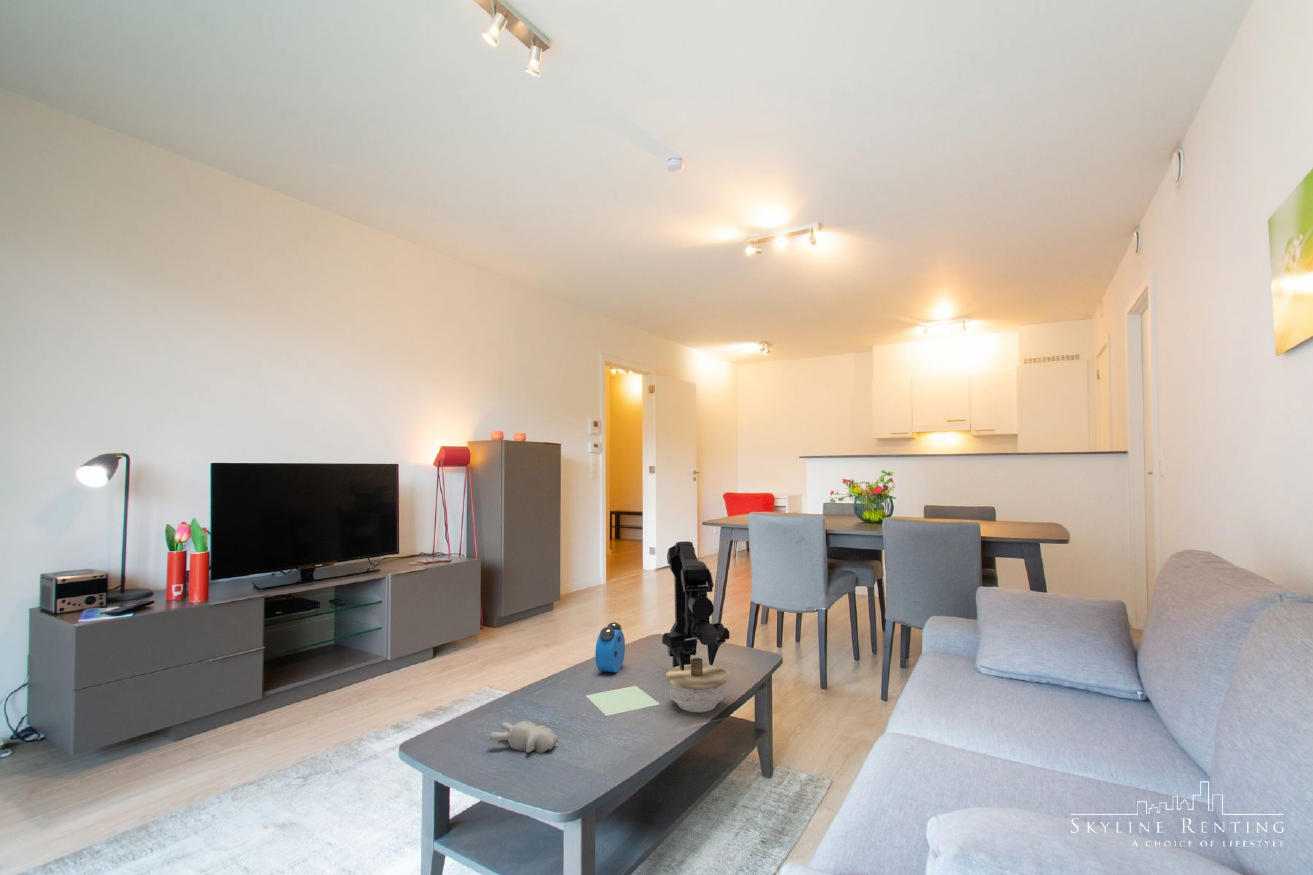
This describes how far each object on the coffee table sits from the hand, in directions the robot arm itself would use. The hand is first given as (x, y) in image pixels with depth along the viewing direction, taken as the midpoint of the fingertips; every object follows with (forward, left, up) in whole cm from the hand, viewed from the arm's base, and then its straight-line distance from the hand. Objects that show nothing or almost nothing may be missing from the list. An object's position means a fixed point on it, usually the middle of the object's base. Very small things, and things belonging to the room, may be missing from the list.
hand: (696, 667), depth 165 cm
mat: (-13, -17, -10) cm, 24 cm away
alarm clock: (-38, -10, -11) cm, 41 cm away
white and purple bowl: (0, 0, -11) cm, 11 cm away
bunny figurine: (+1, -48, -11) cm, 49 cm away
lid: (0, 0, -3) cm, 3 cm away
